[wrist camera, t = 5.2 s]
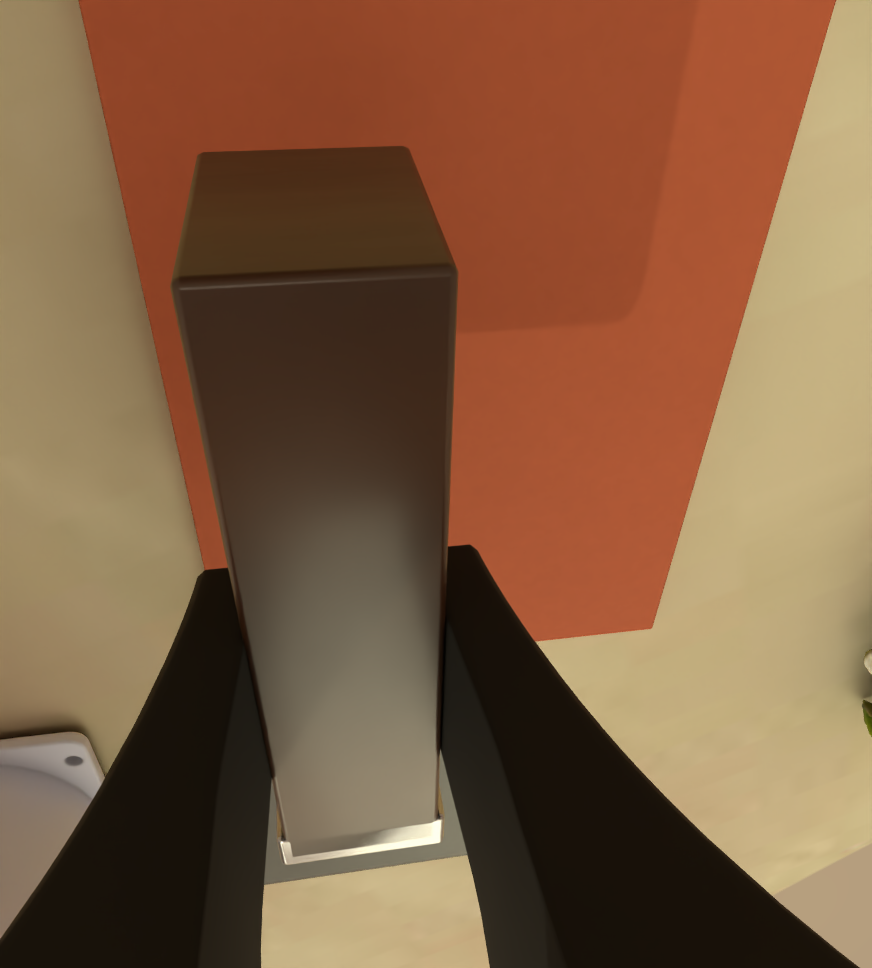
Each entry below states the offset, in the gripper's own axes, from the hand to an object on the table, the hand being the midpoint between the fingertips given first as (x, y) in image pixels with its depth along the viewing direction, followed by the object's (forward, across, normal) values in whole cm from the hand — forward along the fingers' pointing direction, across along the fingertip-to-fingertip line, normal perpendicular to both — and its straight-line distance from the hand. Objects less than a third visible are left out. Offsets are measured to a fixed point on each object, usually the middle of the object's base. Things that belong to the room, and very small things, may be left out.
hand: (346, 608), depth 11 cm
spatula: (+1, 0, +2) cm, 2 cm away
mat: (+8, -3, +1) cm, 9 cm away
